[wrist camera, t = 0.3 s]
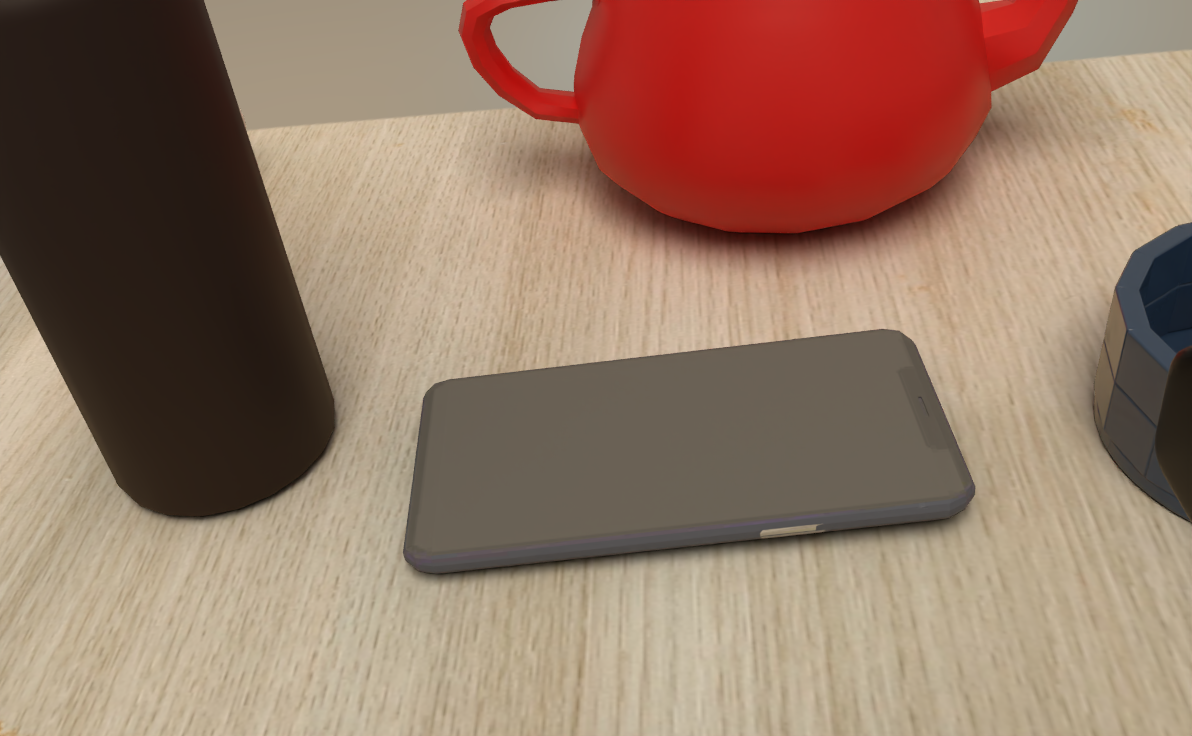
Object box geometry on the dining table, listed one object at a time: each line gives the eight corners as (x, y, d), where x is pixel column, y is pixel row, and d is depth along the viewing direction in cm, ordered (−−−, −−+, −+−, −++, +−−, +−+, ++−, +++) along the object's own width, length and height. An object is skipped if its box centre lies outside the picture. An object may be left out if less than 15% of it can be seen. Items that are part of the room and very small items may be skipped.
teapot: (469, 301, 40) (394, -46, 32) (503, 105, 52) (454, -181, 44) (1204, 242, 38) (1308, -142, 30) (1061, 52, 50) (1109, -256, 42)
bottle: (216, 556, 31) (-156, -249, 19) (73, 474, 35) (-322, -255, 22) (384, 413, 35) (167, -326, 23) (241, 352, 39) (-15, -321, 26)
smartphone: (423, 378, 35) (909, 321, 34) (429, 401, 36) (907, 346, 35) (398, 563, 29) (985, 499, 28) (406, 588, 30) (981, 526, 29)
